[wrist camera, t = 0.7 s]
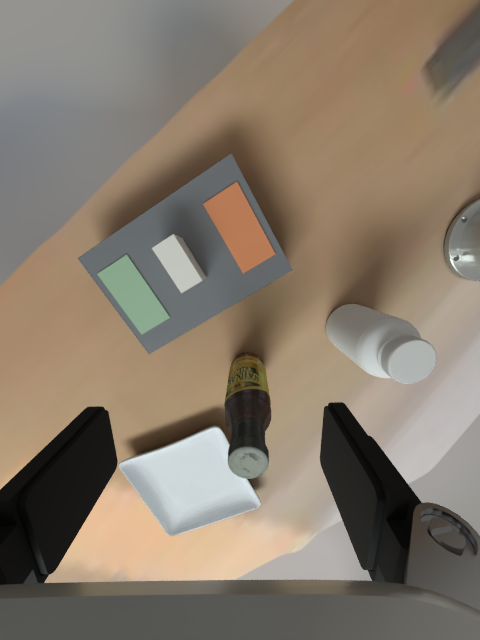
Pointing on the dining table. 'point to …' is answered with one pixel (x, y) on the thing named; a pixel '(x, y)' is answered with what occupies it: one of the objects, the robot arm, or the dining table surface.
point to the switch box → (205, 245)
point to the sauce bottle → (247, 416)
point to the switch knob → (179, 262)
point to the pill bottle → (381, 343)
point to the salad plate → (190, 482)
